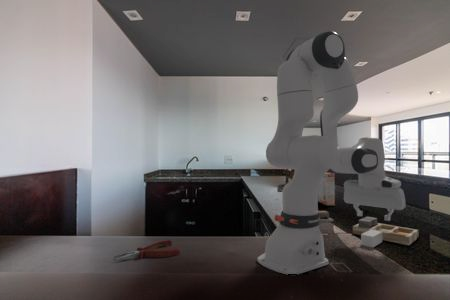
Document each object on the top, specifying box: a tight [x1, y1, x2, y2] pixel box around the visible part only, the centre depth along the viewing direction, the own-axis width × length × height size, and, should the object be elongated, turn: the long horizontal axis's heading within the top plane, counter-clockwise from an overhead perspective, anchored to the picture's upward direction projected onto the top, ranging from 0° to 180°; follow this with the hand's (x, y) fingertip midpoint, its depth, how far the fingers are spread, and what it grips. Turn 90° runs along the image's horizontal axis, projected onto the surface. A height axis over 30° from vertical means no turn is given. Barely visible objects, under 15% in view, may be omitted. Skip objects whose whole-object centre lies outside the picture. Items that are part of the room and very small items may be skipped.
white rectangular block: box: [360, 230, 384, 248], centre depth 95 cm, size 9×4×4 cm, turn 130°
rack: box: [352, 216, 419, 246], centre depth 104 cm, size 13×20×6 cm
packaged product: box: [318, 210, 334, 223], centre depth 130 cm, size 18×5×10 cm
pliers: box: [113, 239, 181, 261], centre depth 86 cm, size 12×20×3 cm, turn 119°
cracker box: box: [318, 172, 336, 207], centre depth 172 cm, size 14×6×21 cm, turn 1°
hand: (373, 218), depth 95 cm, fingers open, 8 cm apart
